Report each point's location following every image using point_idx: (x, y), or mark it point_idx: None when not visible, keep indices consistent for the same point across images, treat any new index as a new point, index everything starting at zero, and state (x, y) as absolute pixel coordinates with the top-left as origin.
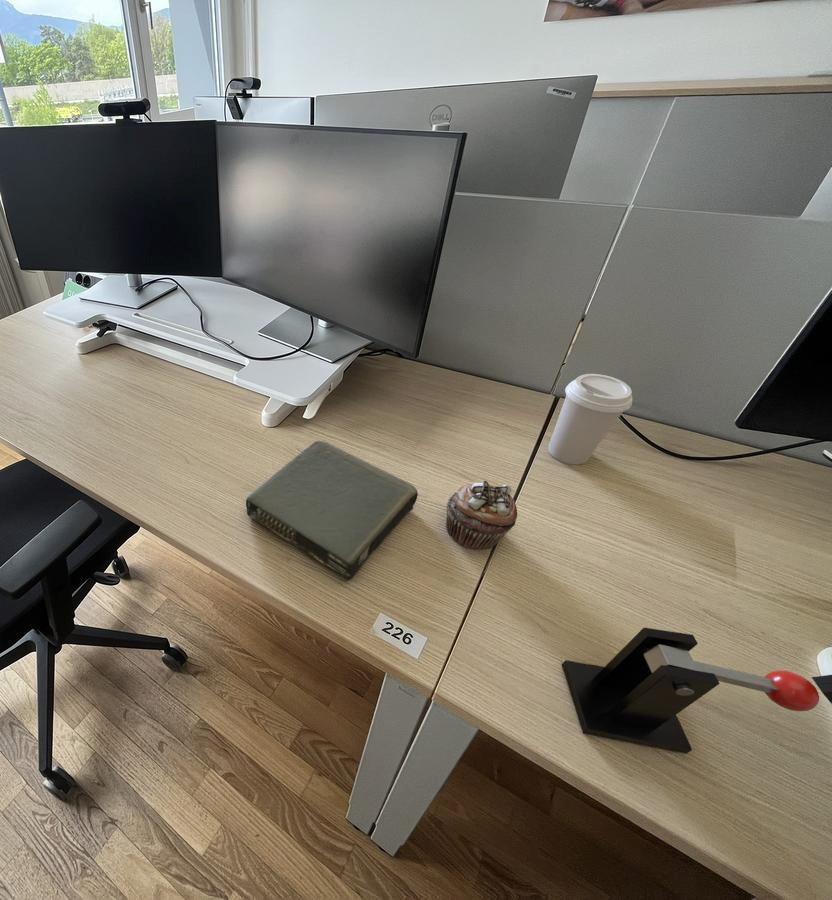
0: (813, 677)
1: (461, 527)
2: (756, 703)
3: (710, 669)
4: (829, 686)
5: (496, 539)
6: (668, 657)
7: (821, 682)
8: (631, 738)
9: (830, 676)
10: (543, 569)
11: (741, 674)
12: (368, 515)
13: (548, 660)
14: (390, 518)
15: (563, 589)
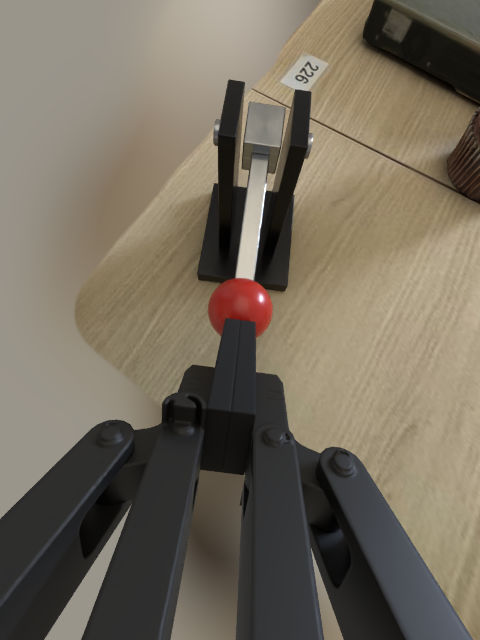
0: (254, 323)
1: (477, 111)
2: None
3: (256, 183)
4: (234, 325)
5: (470, 167)
6: (262, 108)
7: (243, 323)
8: (207, 220)
9: (252, 332)
10: (434, 236)
11: (254, 229)
12: (462, 20)
13: (295, 192)
14: (465, 40)
15: (405, 247)
